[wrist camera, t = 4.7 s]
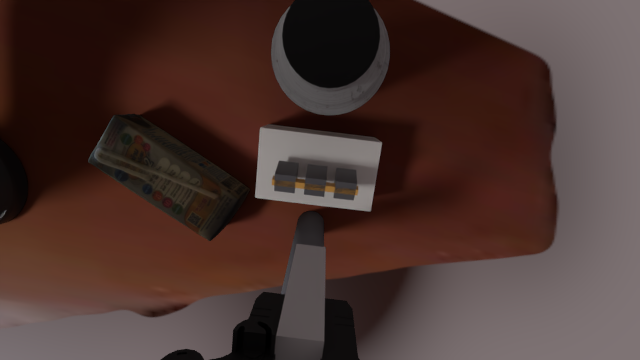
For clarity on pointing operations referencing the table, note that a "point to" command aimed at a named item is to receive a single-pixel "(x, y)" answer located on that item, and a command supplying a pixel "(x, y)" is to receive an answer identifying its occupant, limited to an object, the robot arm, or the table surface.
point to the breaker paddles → (315, 181)
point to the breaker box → (317, 163)
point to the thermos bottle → (330, 54)
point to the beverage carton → (168, 174)
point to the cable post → (305, 237)
